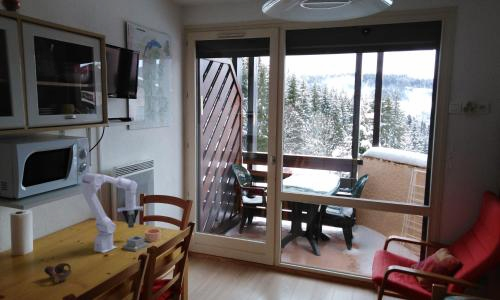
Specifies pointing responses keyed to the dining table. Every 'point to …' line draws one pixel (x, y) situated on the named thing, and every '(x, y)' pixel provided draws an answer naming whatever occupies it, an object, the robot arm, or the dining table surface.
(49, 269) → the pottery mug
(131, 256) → the dining table surface
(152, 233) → the cup
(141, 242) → the checker housing
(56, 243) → the dining table surface
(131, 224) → the battery cell
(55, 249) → the dining table surface
